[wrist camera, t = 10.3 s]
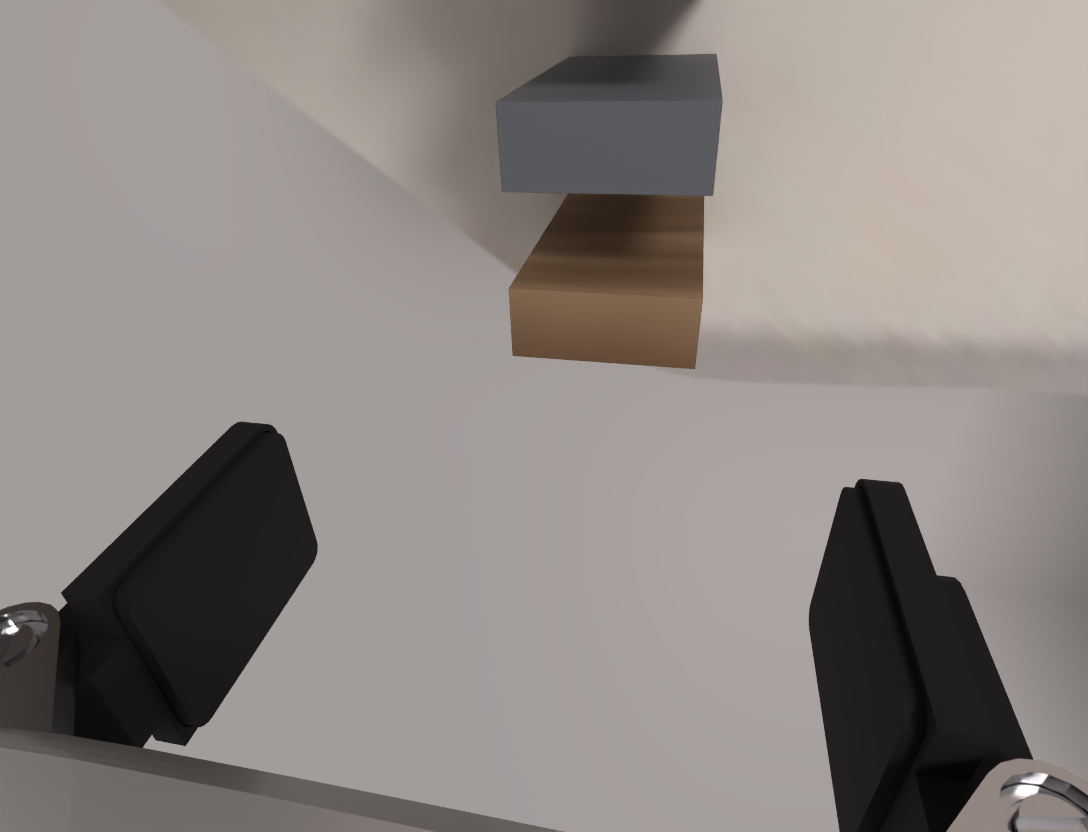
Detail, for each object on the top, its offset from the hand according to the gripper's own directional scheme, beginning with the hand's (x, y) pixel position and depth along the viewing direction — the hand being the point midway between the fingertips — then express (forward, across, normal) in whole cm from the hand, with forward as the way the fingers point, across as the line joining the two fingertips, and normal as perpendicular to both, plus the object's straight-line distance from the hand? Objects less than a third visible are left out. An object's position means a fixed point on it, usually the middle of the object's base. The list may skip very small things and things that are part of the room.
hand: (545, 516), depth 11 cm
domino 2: (+18, 0, 0) cm, 18 cm away
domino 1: (+18, 0, -4) cm, 18 cm away
